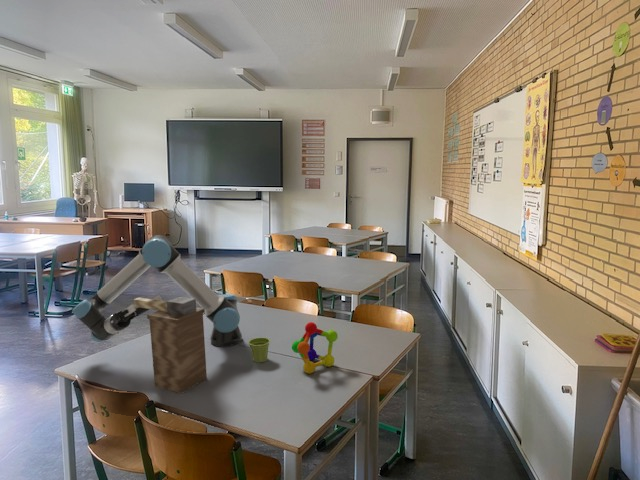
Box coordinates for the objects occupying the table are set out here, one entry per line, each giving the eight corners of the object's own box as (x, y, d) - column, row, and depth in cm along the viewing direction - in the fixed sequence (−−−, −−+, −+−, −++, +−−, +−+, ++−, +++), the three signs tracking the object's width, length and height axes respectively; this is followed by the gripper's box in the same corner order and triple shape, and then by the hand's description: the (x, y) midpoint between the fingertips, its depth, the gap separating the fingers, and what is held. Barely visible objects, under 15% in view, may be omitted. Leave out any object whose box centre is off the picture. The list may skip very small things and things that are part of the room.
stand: (208, 377, 186) (204, 308, 181) (182, 394, 173) (177, 319, 168) (180, 371, 192) (175, 304, 188) (152, 386, 179) (147, 314, 175)
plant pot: (245, 363, 199) (244, 343, 198) (255, 354, 208) (254, 336, 207) (264, 365, 196) (264, 346, 195) (274, 357, 205) (273, 338, 204)
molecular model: (304, 379, 181) (302, 329, 180) (280, 371, 192) (277, 324, 191) (341, 365, 196) (339, 318, 194) (316, 357, 207) (314, 314, 205)
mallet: (196, 311, 178) (195, 298, 177) (183, 316, 172) (182, 303, 171) (143, 303, 190) (142, 291, 190) (130, 307, 184) (129, 295, 183)
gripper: (144, 321, 204) (174, 302, 195) (95, 340, 182) (126, 320, 173) (137, 306, 205) (166, 286, 195) (87, 323, 183) (117, 302, 173)
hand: (147, 302), depth 184 cm, fingers open, 13 cm apart
